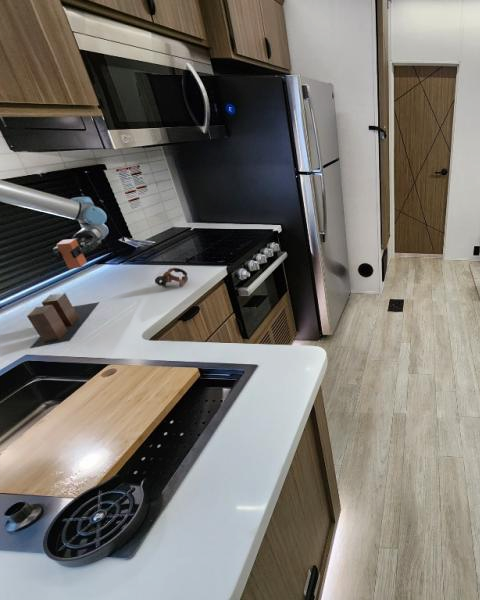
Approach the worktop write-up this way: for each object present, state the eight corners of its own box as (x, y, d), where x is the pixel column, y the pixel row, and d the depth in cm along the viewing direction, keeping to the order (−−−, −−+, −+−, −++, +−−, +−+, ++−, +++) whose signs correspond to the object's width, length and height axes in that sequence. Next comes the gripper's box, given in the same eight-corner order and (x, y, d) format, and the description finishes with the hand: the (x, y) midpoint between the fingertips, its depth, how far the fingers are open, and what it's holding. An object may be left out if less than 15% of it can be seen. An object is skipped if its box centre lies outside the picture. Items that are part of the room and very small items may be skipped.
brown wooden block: (56, 328, 112) (40, 302, 107) (63, 319, 117) (49, 295, 112) (71, 325, 114) (57, 300, 109) (78, 317, 118) (64, 292, 114)
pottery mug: (176, 279, 148) (180, 264, 145) (190, 292, 146) (194, 277, 143) (147, 284, 137) (151, 268, 134) (162, 297, 135) (166, 281, 132)
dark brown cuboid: (43, 343, 105) (25, 316, 100) (51, 333, 110) (35, 307, 105) (59, 339, 106) (43, 313, 101) (67, 330, 111) (52, 304, 106)
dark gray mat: (67, 308, 125) (67, 307, 125) (100, 303, 129) (99, 302, 128) (30, 350, 103) (28, 348, 102) (70, 342, 106) (69, 340, 106)
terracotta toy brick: (67, 268, 130) (55, 244, 125) (73, 263, 135) (62, 239, 130) (81, 267, 131) (69, 243, 127) (86, 262, 136) (75, 238, 131)
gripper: (115, 243, 149) (97, 261, 131) (66, 249, 144) (40, 268, 125) (107, 227, 146) (88, 243, 127) (58, 232, 140) (30, 249, 121)
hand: (65, 255), depth 126 cm, fingers closed on terracotta toy brick, 4 cm apart
